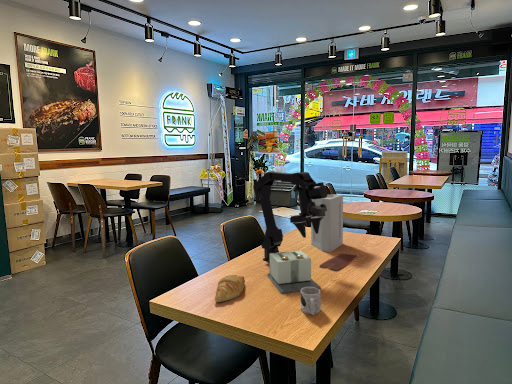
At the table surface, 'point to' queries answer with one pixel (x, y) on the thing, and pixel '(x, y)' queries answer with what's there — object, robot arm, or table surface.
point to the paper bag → (329, 224)
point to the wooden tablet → (338, 262)
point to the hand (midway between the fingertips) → (311, 235)
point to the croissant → (229, 288)
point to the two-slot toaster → (290, 267)
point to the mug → (310, 300)
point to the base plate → (293, 285)
